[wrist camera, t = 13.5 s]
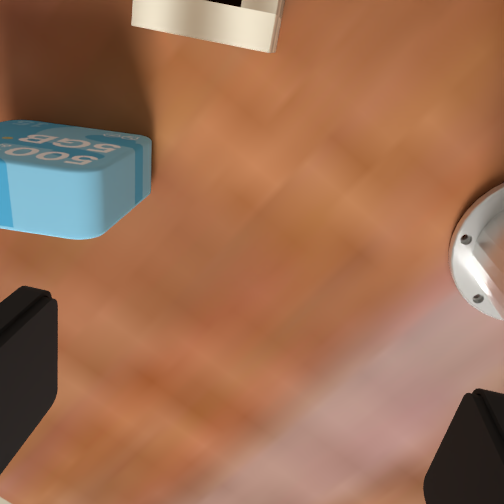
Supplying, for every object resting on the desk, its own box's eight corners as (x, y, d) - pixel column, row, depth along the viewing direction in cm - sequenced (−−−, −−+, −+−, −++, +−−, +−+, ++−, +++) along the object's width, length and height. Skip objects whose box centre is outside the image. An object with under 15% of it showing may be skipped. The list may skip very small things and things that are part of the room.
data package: (157, 136, 37) (91, 172, 26) (156, 190, 39) (94, 244, 28) (16, 117, 38) (-104, 144, 27) (21, 170, 40) (-89, 216, 29)
